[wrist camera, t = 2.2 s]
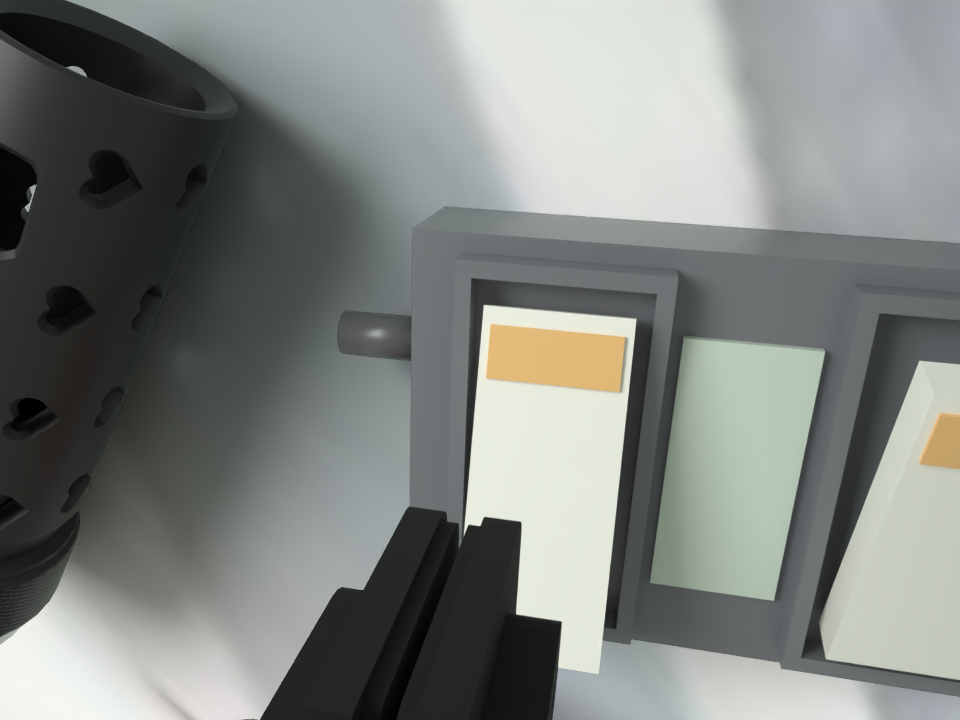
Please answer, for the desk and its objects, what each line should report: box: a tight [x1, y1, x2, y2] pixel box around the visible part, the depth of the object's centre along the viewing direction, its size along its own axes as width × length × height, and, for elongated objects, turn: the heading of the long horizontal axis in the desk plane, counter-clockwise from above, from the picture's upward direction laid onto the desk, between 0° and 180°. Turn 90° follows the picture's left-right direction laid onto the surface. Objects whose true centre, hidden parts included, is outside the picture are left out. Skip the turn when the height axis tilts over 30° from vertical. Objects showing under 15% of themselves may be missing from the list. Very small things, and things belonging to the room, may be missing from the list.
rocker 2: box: [819, 361, 960, 680], centre depth 25 cm, size 12×5×2 cm, turn 177°
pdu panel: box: [337, 207, 960, 697], centre depth 30 cm, size 16×28×6 cm, turn 88°
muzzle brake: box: [0, 0, 237, 644], centre depth 33 cm, size 10×28×10 cm, turn 151°
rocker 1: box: [464, 305, 636, 674], centre depth 27 cm, size 12×5×2 cm, turn 178°
